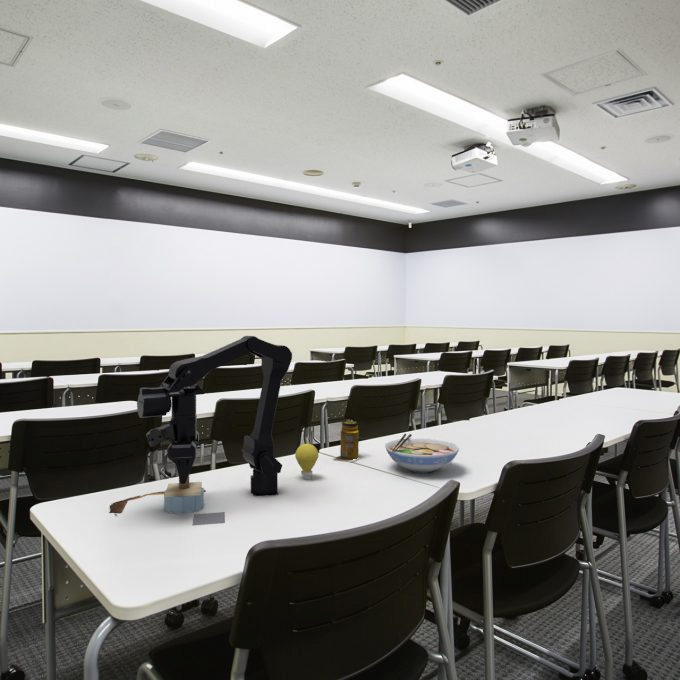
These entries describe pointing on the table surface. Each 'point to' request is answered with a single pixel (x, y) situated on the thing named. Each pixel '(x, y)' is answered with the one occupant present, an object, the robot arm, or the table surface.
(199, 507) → the bowl
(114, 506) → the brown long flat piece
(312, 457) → the light bulb
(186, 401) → the robot arm
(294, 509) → the table surface
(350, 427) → the condiment
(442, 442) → the ramen bowl
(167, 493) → the lid
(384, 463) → the table surface
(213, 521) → the mat
